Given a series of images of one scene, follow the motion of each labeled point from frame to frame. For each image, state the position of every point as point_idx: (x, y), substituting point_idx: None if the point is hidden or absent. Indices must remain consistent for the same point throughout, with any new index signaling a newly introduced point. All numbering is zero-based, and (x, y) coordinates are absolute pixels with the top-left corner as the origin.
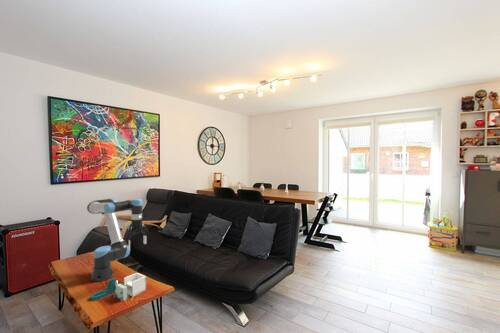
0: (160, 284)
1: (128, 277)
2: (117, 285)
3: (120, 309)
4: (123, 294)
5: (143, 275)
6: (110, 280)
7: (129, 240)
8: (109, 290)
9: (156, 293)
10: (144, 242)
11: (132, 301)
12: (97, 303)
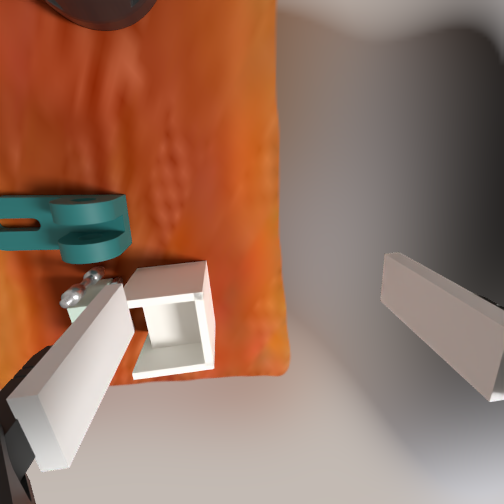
0: (282, 323)
1: (140, 304)
2: (72, 319)
3: None
4: None
5: (209, 350)
6: (58, 216)
7: (54, 469)
8: (69, 233)
9: (230, 371)
10: (394, 288)
11: (136, 361)
12: (10, 277)
